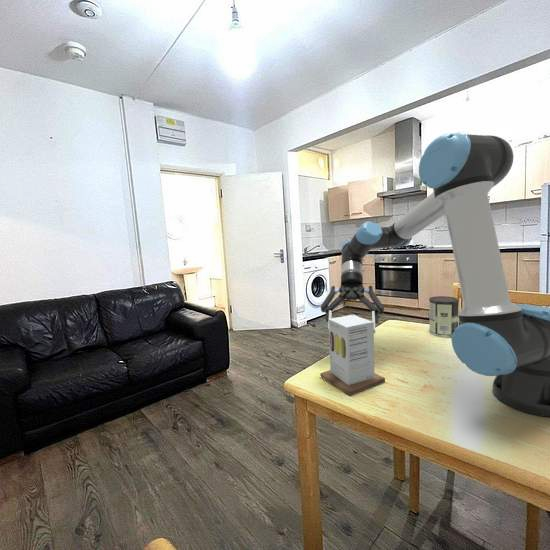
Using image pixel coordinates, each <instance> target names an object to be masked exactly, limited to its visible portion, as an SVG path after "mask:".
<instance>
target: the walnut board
mask: <svg viewBox="0 0 550 550" xmlns="http://www.w3.org/2000/svg"><path fill="white" fill-rule="evenodd" d="M320 376H321V377H322V378H321V377H320V378H321V379H323V378H324V379H325V380H324V379H323V380H324V381H326V380H327V381H328V382H327V381H326V382H327V383H329V382H330V383H331V384H330V383H329V384H330V385H332V386H333V387H336V388H337V389H338V390H340V391H341V392H343V393H345V394H346V395H348V396H349V397H352V396H355V395H356V394H359V393H361V392H364V391H367V390H369V389H372V388H375V387H376V386H379V385H382V384H385V383H386V378H385V377H383V376H381V375H379V374H377V373H375V372H374V378H372V379H369V380H366V381H362V382H359V383H355V384H352V385H347V384H346V383H344V382H343V381H342V380H340V379H339V378H338V377H336V376H335V375H334V374H332V373H331V372H330V369H329V370H326V371H323V372H320Z"/></svg>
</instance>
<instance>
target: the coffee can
mask: <svg viewBox="0 0 550 550" xmlns="http://www.w3.org/2000/svg"><path fill="white" fill-rule="evenodd" d="M428 298H429V299H428V301H429V331H428V332H429V334H430V335H432V336H437V337H440V336H441V338H444V337H445V338H452V334H453V333H454V332H455V329H456V328H457V327H458V326H459V317H458V312H459V302H460V299H459V298H457V297H453V296H443V295H441V296H440V295H439V296H438V295H437V296H432V297H428Z"/></svg>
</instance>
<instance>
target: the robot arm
mask: <svg viewBox="0 0 550 550" xmlns="http://www.w3.org/2000/svg"><path fill="white" fill-rule="evenodd" d="M514 157H515V155H514V152H513V148H512V146H511V144H510V143H509V142H508V141H507V140H505V139H504V138H502V137H499V136H496V135H482V134H469V133H465V132H456V133H455V132H453V133H452V132H449V133H443V134H442V135H439V136H438V137H436V138H435V139H434V140H432V141H431V142H429V144H428V145H427V147H426V148H425V150H424V152H423V155H422V156H421V158H420V160H419V165H418V177H419V180H420V181H421V183H422V184H423V185H425V186H426V187H428V188H429V189H433V192H432V193H430V194H429V195H428V196H427V197H425V198H424V199H423V200H422V201H420V202H418V204H416V205H415V206H414V207H412V209H411V210H409V211H408V212H407V213H406V214H404V215H403V216H401V217H400V218H399V219H398V220H397V221H395V222H394V223H393V224H391V225H390V226H380V225H379V224H377V223H376V222H372V221H366V222H363V223H362V224H361V226H360V227H359V228H357V230H356V232H355V234H354V235H353V237H352V238H349V239H346V240H345V241H343V243H342V246H341V253H340V254H341V265H340V266H341V268H340V269H341V270H340V286H339V287H336V286H334V285H333V286H331V287H330V291H329V293H328V295H327V296H326V298H325V299H324V301H323V302H322V304H321V305H320V311H321V312H322V313H325V321H326V322H327V327H328V329H327V330H328V331H329V319H332V318H333V311H335V309H336V308H337V307H338V306H339V305H340V304H341V303H342V302H344V301H345V300H346V301H357V300H358V301H359V302H361V303H362V304H363V305H364V306H365V307H366V308H367V309H369V311H371V321H372V322H374V334H376V324H378V323H379V320H380V319H379V318H380V317H379V314H384V313H385V307H384V305H383V304H382V302H381V301H380V299H379V298H378V297H377V295H376V293H375V292H374V289H373V286H372V285H369V286H368V287H364V285H363V284H364V280H363V279H364V278H363V276H364V274H363V267H364V266H363V261H364V260H363V259H364V258H365V256H367V255H368V253H369V252H370V251H371V250H379V249H387V248H388V249H390V248H391V249H392V248H401V247H406V246H408V245H409V244H410V243H411V241H412V240H413V237H414V236H415V235H417V234H419V233H420V232H422V231H423V230H424V229H427V227H429V226H431V225H432V224H433V223H435V222H437V221H438V220H439V219H441V218H443V216H445V217H446V223H447V227H448V233H449V238H450V242H451V248H452V252H453V258H454V262H455V267H456V272H457V277H458V283H459V287H460V291H461V297H462V302H463V306H462V307H461V309H460V310H458V323H459V324H458V327H457V328H456V329H455V332H454V333H453V334H452V337H451V345H452V348H453V351H454V353H455V355H456V357H457V358H458V359H459V361H460V362H461V363H462V364H463V365H465V366H466V367H467V368H468V369H470V371H472V372H474V373H476V374H478V375H481V376H485V377H495V378H494V379H493V382H492V393H493V395H494V397H496V398H497V399H498V400H499V401H500V402H502V404H505V405H506V406H509V407H511V408H513V409H515V410H518V411H521V412H524V413H527V414H531V415H535V416H540V417H547V418H548V417H549V418H550V307H548V306H541V305H534V304H524V303H523V304H522V303H514V302H512V301H511V297H510V292H509V288H508V284H507V283H508V282H507V280H506V279H507V278H506V274H505V270H504V265H503V260H502V256H501V255H502V254H501V250H500V246H499V241H498V237H497V232H496V228H495V222H494V217H493V214H492V209H491V205H490V200H489V195H488V194H489V192H490V191H491V190H492V188H494V187H495V186H497V185H498V184H499V183H501V182H502V181H503V180H504V179H505V177H507V176H508V174H509V172H510V171H511V169H512V167H513V163H514ZM338 293H339V294H338ZM364 293H366V294H367V295H368V296H369V298H370V299H371V301H370V300H369V299H368V298H367V296H365V294H364ZM337 294H338V296H337V297H336V298H335V295H337ZM334 298H335V299H334ZM373 303H374V304H373Z"/></svg>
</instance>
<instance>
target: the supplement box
mask: <svg viewBox="0 0 550 550" xmlns="http://www.w3.org/2000/svg"><path fill="white" fill-rule="evenodd" d="M328 333H329V334H328V335H329V339H328V340H329V362H330V363H329V366H330V368H329V370H330V372H331V373H332V374H334V375H335V376H336V377H338V378H339V379H340V380H342V381H343V382H344V383H346V384H347V385H352V384H355V383H359V382H362V381H366V380H369V379H372V378H374V373H375V336H374V335H375V333H374V322H372V320H369V319H366V318H363V317H360V316H358V315H356V314H348V315H344V316H338V317H332V319H329V330H328Z"/></svg>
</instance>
